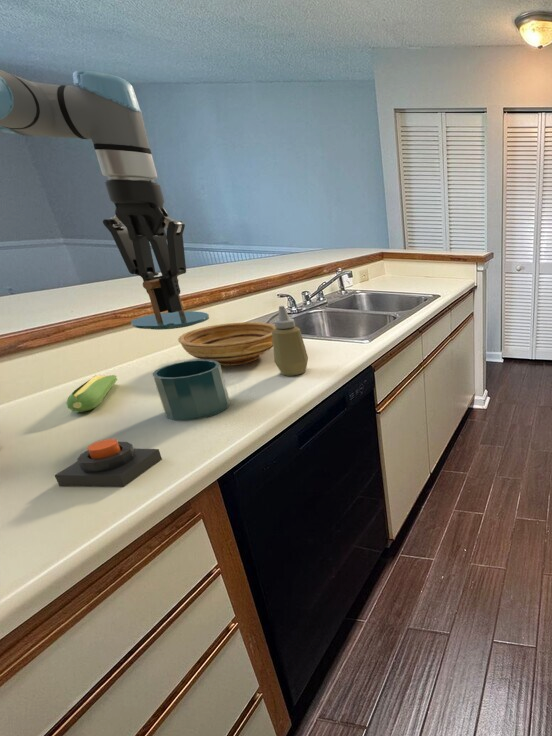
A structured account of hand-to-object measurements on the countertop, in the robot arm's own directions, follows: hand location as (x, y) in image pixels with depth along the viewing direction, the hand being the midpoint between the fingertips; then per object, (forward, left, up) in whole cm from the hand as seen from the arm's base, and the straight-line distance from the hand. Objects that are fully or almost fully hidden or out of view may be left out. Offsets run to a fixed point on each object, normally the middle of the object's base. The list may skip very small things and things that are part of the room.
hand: (169, 310), depth 84 cm
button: (+2, -24, -18) cm, 30 cm away
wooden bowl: (-11, +33, -22) cm, 41 cm away
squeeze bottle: (+10, +23, -22) cm, 33 cm away
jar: (0, 0, -22) cm, 22 cm away
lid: (0, 0, -2) cm, 2 cm away
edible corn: (-26, +5, -22) cm, 34 cm away
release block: (+2, -24, -22) cm, 32 cm away
